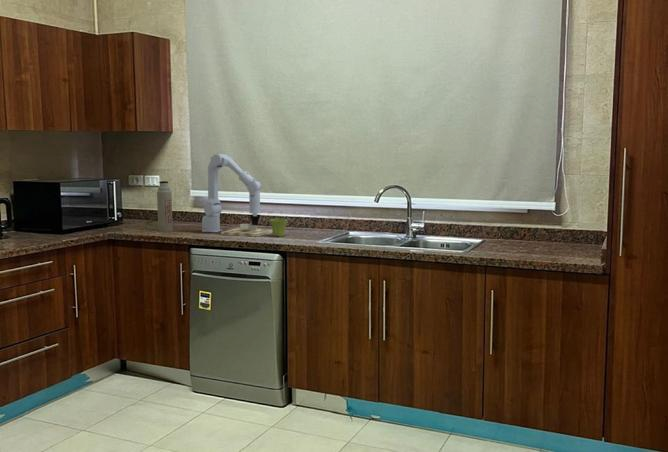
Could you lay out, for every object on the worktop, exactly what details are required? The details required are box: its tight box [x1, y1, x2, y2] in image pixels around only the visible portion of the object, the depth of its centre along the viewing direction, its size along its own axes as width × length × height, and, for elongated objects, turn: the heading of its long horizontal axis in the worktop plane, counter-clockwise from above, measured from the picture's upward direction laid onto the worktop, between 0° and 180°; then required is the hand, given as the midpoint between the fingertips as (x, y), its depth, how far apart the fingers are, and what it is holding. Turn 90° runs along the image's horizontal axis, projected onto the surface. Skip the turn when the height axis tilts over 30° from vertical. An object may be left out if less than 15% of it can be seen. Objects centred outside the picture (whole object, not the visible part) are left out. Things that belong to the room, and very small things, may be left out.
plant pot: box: [269, 218, 288, 237], centre depth 361 cm, size 9×9×9 cm
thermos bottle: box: [156, 180, 174, 232], centre depth 382 cm, size 8×8×28 cm
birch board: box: [220, 227, 273, 238], centre depth 370 cm, size 22×18×2 cm
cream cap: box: [239, 223, 258, 230], centre depth 369 cm, size 10×6×3 cm, turn 61°
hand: (255, 227), depth 369 cm, fingers closed
